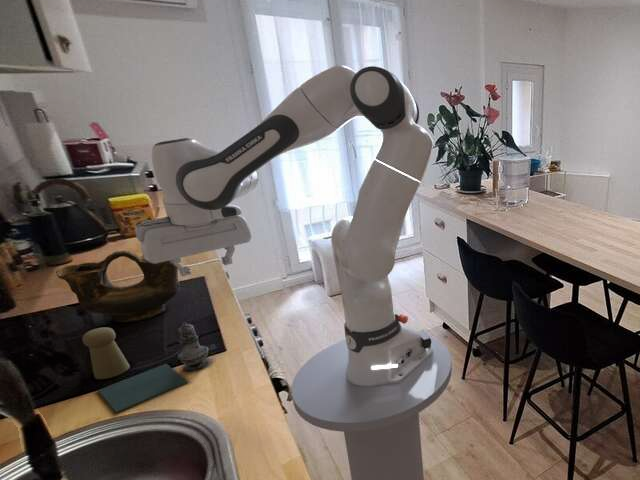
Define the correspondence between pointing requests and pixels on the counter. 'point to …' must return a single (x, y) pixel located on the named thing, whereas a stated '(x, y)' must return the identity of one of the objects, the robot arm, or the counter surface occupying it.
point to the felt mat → (141, 387)
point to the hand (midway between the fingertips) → (207, 269)
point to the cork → (105, 353)
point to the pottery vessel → (122, 288)
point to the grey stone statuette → (192, 350)
